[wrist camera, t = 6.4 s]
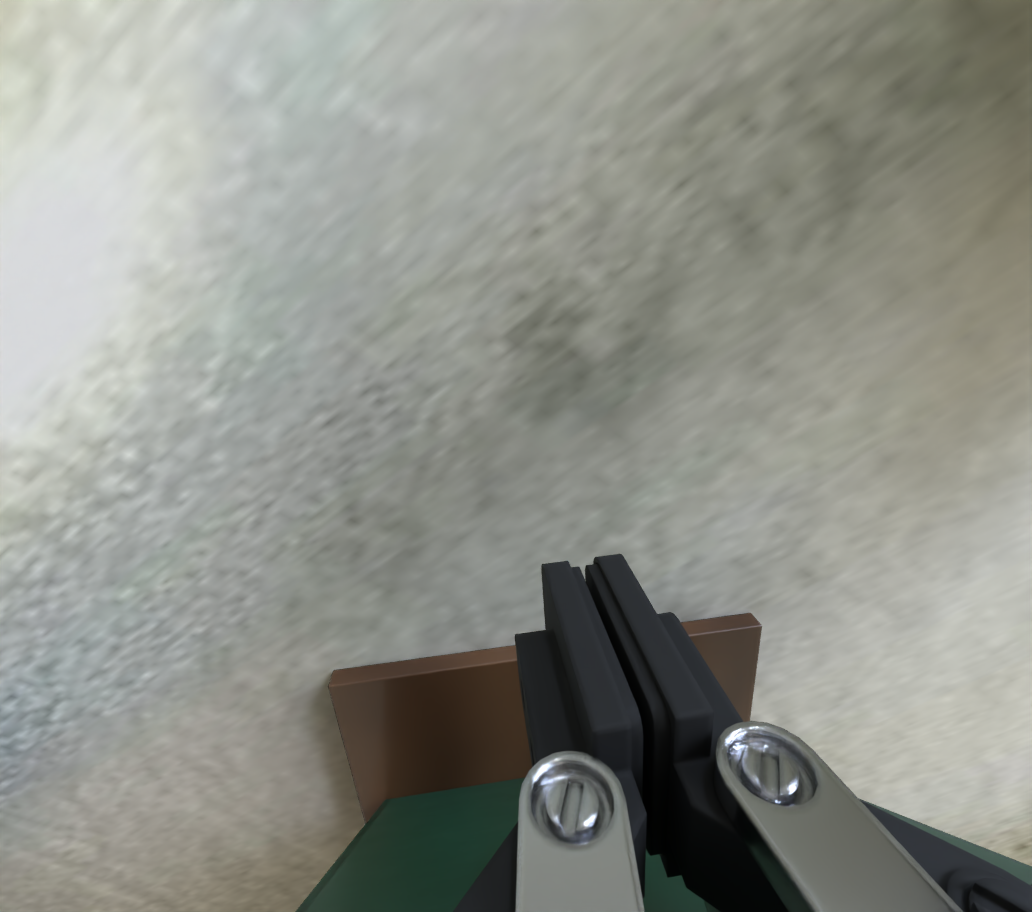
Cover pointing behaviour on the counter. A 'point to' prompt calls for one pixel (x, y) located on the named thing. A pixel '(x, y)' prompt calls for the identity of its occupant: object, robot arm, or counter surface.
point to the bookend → (479, 713)
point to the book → (482, 855)
